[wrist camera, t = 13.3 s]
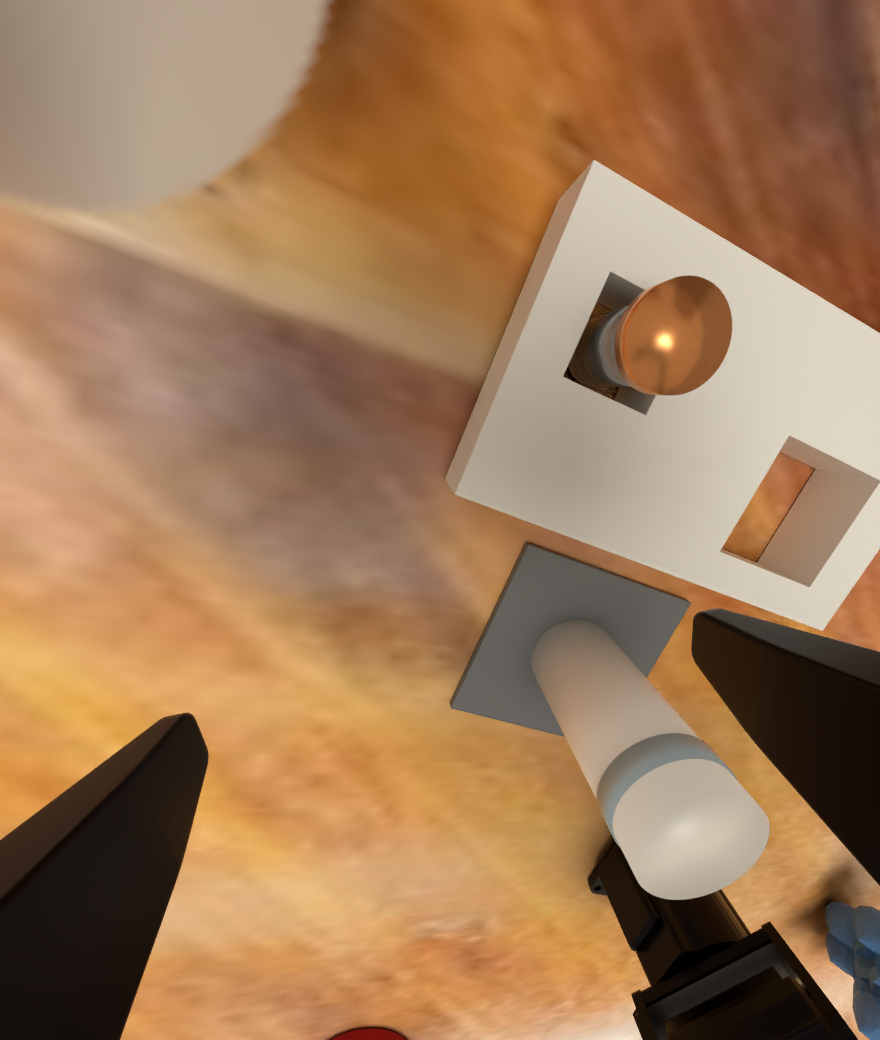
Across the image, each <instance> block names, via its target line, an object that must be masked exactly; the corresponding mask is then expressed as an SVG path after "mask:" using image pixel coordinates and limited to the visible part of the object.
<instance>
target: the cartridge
mask: <svg viewBox="0 0 880 1040" xmlns="http://www.w3.org/2000/svg"><path fill="white" fill-rule="evenodd" d="M531 668H532V672H533V674H534V676H535V678H536V680H537V682H538V684H539V686H540V688H541V690H542V692H543V694H544V696H545V698H546V700H547V702H548V704H549V706H550V708H551V710H552V712H553V714H554V716H555V718H556V720H557V722H558V724H559V726H560V728H561V730H562V732H563V734H564V736H565V738H566V740H567V742H568V744H569V746H570V748H571V750H572V752H573V754H574V756H575V758H576V760H577V762H578V764H579V766H580V768H581V770H582V772H583V774H584V776H585V778H586V780H587V782H588V784H589V786H590V788H591V790H592V792H593V794H594V796H595V798H596V800H597V804H598V807H599V810H600V812H601V814H602V816H603V818H604V820H605V822H606V824H607V826H608V828H609V830H610V832H611V834H612V836H613V838H614V840H615V842H616V843H617V844H618V845H619V847H620V848H621V850H622V852H623V854H624V856H625V858H626V860H627V861H628V863H629V865H630V867H631V869H632V871H633V873H634V875H635V877H636V879H637V881H638V883H639V884H640V886H641V887H642V888H643V889H644V890H646V891H647V892H648V893H650V894H652V895H654V896H657V897H659V898H664V899H670V900H685V899H692V898H697V897H701V896H705V895H708V894H711V893H713V892H716V891H718V890H720V889H722V888H724V887H726V886H728V885H729V884H731V883H733V882H734V881H736V880H737V879H739V878H740V877H741V876H742V875H744V874H745V873H746V872H747V871H748V870H749V869H750V868H751V867H752V866H753V865H754V864H755V863H756V861H757V860H758V859H759V857H760V856H761V854H762V853H763V851H764V849H765V847H766V844H767V842H768V838H769V830H770V827H769V821H768V818H767V815H766V814H765V812H764V810H763V809H762V808H761V807H760V806H759V805H758V804H757V802H756V801H755V800H754V799H753V798H752V797H751V796H750V795H749V793H748V792H747V791H746V790H745V789H744V788H743V787H742V785H741V784H740V783H739V782H738V781H737V779H736V777H735V775H734V774H733V772H732V771H731V770H730V769H729V768H728V767H727V765H726V764H725V763H724V762H723V761H722V760H721V759H720V758H719V756H718V755H717V754H716V753H715V752H714V751H713V750H712V749H711V748H710V746H709V745H708V744H707V743H705V742H704V741H703V740H701V739H700V738H699V737H698V736H697V735H696V733H695V732H694V731H693V730H692V729H691V728H690V727H689V726H688V724H687V723H686V722H685V721H684V720H683V719H682V718H681V717H680V715H679V714H678V713H677V712H676V711H675V710H674V709H673V707H672V706H671V705H670V704H669V703H668V702H667V701H666V700H665V698H664V697H663V696H662V695H661V694H660V693H659V692H658V691H657V689H656V688H655V687H654V686H653V685H652V684H651V683H650V681H649V680H648V679H647V678H646V677H645V676H644V675H643V674H642V672H641V671H640V670H639V669H638V668H637V667H636V666H635V664H634V663H633V662H632V661H631V660H630V659H629V658H628V657H627V655H626V654H625V653H624V652H623V651H622V650H621V649H620V648H619V646H618V645H617V644H616V643H615V642H614V641H613V640H612V638H611V637H610V636H609V635H608V634H607V633H606V632H605V631H604V630H603V628H601V627H600V626H599V625H597V624H596V623H594V622H591V621H588V620H581V619H574V620H568V621H564V622H561V623H559V624H557V625H555V626H553V627H551V628H550V629H548V630H547V631H546V632H545V633H544V634H543V635H542V636H541V637H540V638H539V639H538V641H537V642H536V644H535V646H534V648H533V651H532V654H531Z"/></svg>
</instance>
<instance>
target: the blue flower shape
mask: <svg viewBox="0 0 880 1040" xmlns="http://www.w3.org/2000/svg"><path fill="white" fill-rule="evenodd" d="M825 918H826V923H827V927H828V930H829V932H828V933H827V936H826V946H827V951H828V955H829V958H830V961H831V962H833V963H834V964H835V965H836V966H838V967H839V968H840V969H842V970H843V971H844V972H845V973H847V974H849V975H850V976H852V977H853V978H854V981H855V982H854V985H853V1011H854V1016H855V1020H856V1023H857V1026H858V1029H859V1031H860V1032H862V1033H863V1034H864V1035H865V1036H867V1037H868V1038H869V1039H870V1040H880V910H877V909H875V908H873V907H871V906H859V907H858V908H856V909H855V908H854V907H851V906H849V905H847V904H845V903H843V902H834V901H832V902H831V903H830V904H829V905H827V906H826V911H825Z"/></svg>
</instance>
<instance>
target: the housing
mask: <svg viewBox="0 0 880 1040" xmlns="http://www.w3.org/2000/svg"><path fill="white" fill-rule="evenodd" d="M688 275H691V276H698V277H702V278H705V279H707V280H709V281H711V282H712V283H713V284H715V285H716V286H717V287H718V288H719V289H720V290H721V291H722V293H723V294H724V296H725V298H726V299H727V301H728V304H729V307H730V310H731V315H732V336H731V341H730V346H729V349H728V351H727V354H726V356H725V358H724V360H723V362H722V364H721V365H720V367H719V368H718V370H717V371H716V372H715V374H714V375H713V376H712V377H711V378H710V379H709V380H708V381H707V382H705V383H704V384H703V385H701V386H700V387H698V388H697V389H695V390H693V391H691V392H688V393H685V394H681V395H673V396H665V395H648V394H644V393H642V392H639V391H637V390H636V389H634V388H633V387H619V390H618V392H617V394H616V396H615V398H614V400H612V399H610V398H608V397H605V396H603V395H601V394H599V393H597V392H595V391H593V390H590V389H588V388H586V387H584V386H582V385H580V384H577V383H575V382H573V381H571V380H569V379H567V378H565V377H563V376H564V373H565V371H566V369H567V367H568V364H569V362H570V360H571V358H572V356H573V353H574V351H575V349H576V347H577V344H578V342H579V340H580V338H581V335H582V333H583V331H584V329H585V327H586V324H587V322H588V320H589V318H590V315H591V313H592V311H593V309H594V307H595V304H596V302H597V303H599V304H601V305H603V306H605V307H607V308H609V309H611V310H613V311H614V310H617V309H620V308H623V307H626V306H628V305H630V303H631V302H632V301H633V300H634V299H635V298H636V297H637V296H638V295H639V294H641V293H642V292H643V291H645V290H646V289H648V288H650V287H652V286H654V285H657V284H660V283H662V282H665V281H667V280H670V279H672V278H675V277H679V276H688ZM779 452H781V453H784V454H786V455H788V456H790V457H792V458H794V459H796V460H798V461H800V462H802V463H804V464H806V465H808V466H810V467H813V468H815V470H814V472H813V474H812V475H811V477H810V478H809V480H808V482H807V483H806V485H805V486H804V488H803V490H802V491H801V493H800V494H799V496H798V498H797V499H796V501H795V502H794V504H793V506H792V507H791V509H790V510H789V512H788V514H787V515H786V517H785V518H784V520H783V522H782V523H781V525H780V526H779V528H778V530H777V531H776V533H775V534H774V536H773V538H772V539H771V541H770V542H769V544H768V546H767V547H766V549H765V550H764V552H763V554H762V555H761V557H760V558H759V560H758V562H757V563H756V562H754V561H751V560H749V559H746V558H744V557H741V556H739V555H736V554H734V553H731V552H729V551H726V550H724V549H722V547H723V545H724V544H725V542H726V540H727V539H728V537H729V535H730V534H731V532H732V530H733V529H734V527H735V525H736V524H737V522H738V520H739V519H740V517H741V515H742V514H743V512H744V510H745V509H746V507H747V505H748V504H749V502H750V500H751V498H752V497H753V495H754V493H755V492H756V490H757V488H758V487H759V485H760V483H761V482H762V480H763V478H764V477H765V475H766V473H767V472H768V470H769V468H770V467H771V465H772V463H773V462H774V460H775V458H776V457H777V455H778V453H779ZM445 480H446V482H447V484H448V485H449V487H450V488H451V490H452V491H453V493H454V494H455V495H457V496H460V497H462V498H465V499H468V500H470V501H473V502H476V503H479V504H481V505H484V506H487V507H489V508H492V509H495V510H497V511H500V512H503V513H506V514H508V515H511V516H514V517H516V518H519V519H522V520H524V521H527V522H530V523H533V524H535V525H538V526H541V527H543V528H546V529H549V530H551V531H554V532H557V533H560V534H562V535H565V536H568V537H570V538H573V539H576V540H578V541H581V542H584V543H587V544H589V545H592V546H595V547H597V548H600V549H603V550H605V551H608V552H611V553H614V554H616V555H619V556H622V557H624V558H627V559H630V560H632V561H635V562H638V563H641V564H643V565H646V566H649V567H651V568H654V569H657V570H659V571H662V572H665V573H667V574H670V575H673V576H676V577H678V578H681V579H684V580H686V581H689V582H692V583H694V584H697V585H700V586H703V587H705V588H708V589H711V590H713V591H716V592H719V593H721V594H724V595H727V596H730V597H732V598H735V599H738V600H740V601H743V602H746V603H748V604H751V605H754V606H757V607H759V608H762V609H765V610H767V611H770V612H773V613H775V614H778V615H781V616H784V617H786V618H789V619H792V620H794V621H797V622H800V623H802V624H805V625H808V626H811V627H813V628H816V629H819V630H821V631H823V629H824V628H825V626H826V625H827V624H828V622H829V621H830V619H831V618H832V616H833V615H834V614H835V612H836V611H837V609H838V608H839V606H840V605H841V603H842V602H843V601H844V599H845V598H846V596H847V595H848V593H849V592H850V591H851V589H852V588H853V586H854V585H855V583H856V582H857V580H858V579H859V578H860V576H861V575H862V573H863V572H864V570H865V569H866V568H867V566H868V565H869V563H870V562H871V560H872V559H873V558H874V556H875V555H876V553H877V552H878V550H879V549H880V333H879V332H877V331H875V330H874V329H872V328H870V327H869V326H867V325H865V324H864V323H862V322H860V321H859V320H857V319H855V318H854V317H852V316H851V315H849V314H847V313H846V312H844V311H842V310H841V309H839V308H837V307H836V306H834V305H832V304H831V303H829V302H827V301H826V300H824V299H823V298H821V297H819V296H818V295H816V294H814V293H813V292H811V291H809V290H808V289H806V288H804V287H803V286H801V285H799V284H798V283H796V282H795V281H793V280H791V279H790V278H788V277H786V276H785V275H783V274H781V273H780V272H778V271H776V270H775V269H773V268H771V267H770V266H768V265H767V264H765V263H763V262H762V261H760V260H758V259H757V258H755V257H753V256H752V255H750V254H748V253H747V252H745V251H743V250H742V249H740V248H739V247H737V246H735V245H734V244H732V243H730V242H729V241H727V240H725V239H724V238H722V237H720V236H719V235H717V234H715V233H714V232H712V231H711V230H709V229H707V228H706V227H704V226H702V225H701V224H699V223H697V222H696V221H694V220H692V219H691V218H689V217H688V216H686V215H684V214H683V213H681V212H679V211H678V210H676V209H674V208H673V207H671V206H669V205H668V204H666V203H664V202H663V201H661V200H660V199H658V198H656V197H655V196H653V195H651V194H650V193H648V192H646V191H645V190H643V189H641V188H640V187H638V186H636V185H635V184H633V183H632V182H630V181H628V180H627V179H625V178H623V177H622V176H620V175H618V174H617V173H615V172H613V171H612V170H610V169H608V168H607V167H605V166H604V165H602V164H600V163H599V162H597V161H595V160H593V161H592V162H591V164H590V165H589V166H588V167H587V168H586V169H585V170H584V171H583V173H582V174H581V175H580V176H579V177H578V178H577V179H576V180H575V182H574V183H573V184H572V185H571V186H570V187H569V188H568V189H567V191H566V192H565V193H564V194H563V195H562V196H561V197H560V198H559V200H558V202H557V204H556V207H555V209H554V212H553V214H552V217H551V219H550V222H549V224H548V227H547V229H546V231H545V234H544V236H543V239H542V241H541V244H540V246H539V249H538V251H537V254H536V256H535V259H534V261H533V263H532V266H531V268H530V271H529V273H528V276H527V278H526V281H525V283H524V286H523V288H522V291H521V293H520V295H519V298H518V300H517V303H516V305H515V308H514V310H513V313H512V315H511V318H510V320H509V323H508V325H507V327H506V330H505V332H504V335H503V337H502V340H501V342H500V345H499V347H498V350H497V352H496V355H495V357H494V359H493V362H492V364H491V367H490V369H489V372H488V374H487V377H486V379H485V382H484V384H483V387H482V389H481V391H480V394H479V396H478V399H477V401H476V404H475V406H474V409H473V411H472V414H471V416H470V419H469V421H468V423H467V426H466V428H465V431H464V433H463V436H462V438H461V441H460V443H459V446H458V448H457V451H456V453H455V455H454V458H453V460H452V463H451V465H450V468H449V470H448V473H447V475H446V478H445Z"/></svg>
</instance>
